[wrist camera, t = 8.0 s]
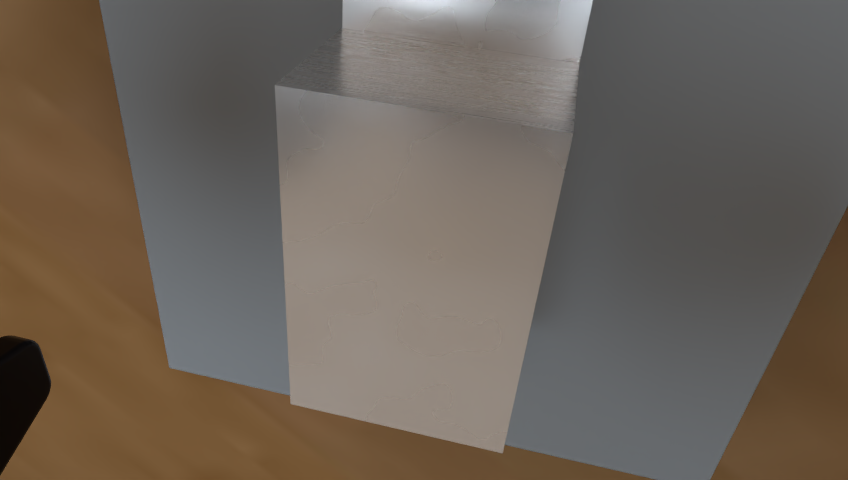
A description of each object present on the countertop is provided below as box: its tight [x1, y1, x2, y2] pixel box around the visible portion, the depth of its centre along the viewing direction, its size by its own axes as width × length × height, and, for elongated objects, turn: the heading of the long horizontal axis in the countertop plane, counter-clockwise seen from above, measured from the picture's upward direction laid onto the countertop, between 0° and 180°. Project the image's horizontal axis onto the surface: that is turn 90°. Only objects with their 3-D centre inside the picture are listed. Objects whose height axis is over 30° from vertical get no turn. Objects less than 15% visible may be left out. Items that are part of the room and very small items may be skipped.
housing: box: [275, 0, 593, 453], centre depth 13 cm, size 10×4×4 cm, turn 176°
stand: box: [99, 0, 848, 480], centre depth 16 cm, size 16×16×3 cm
